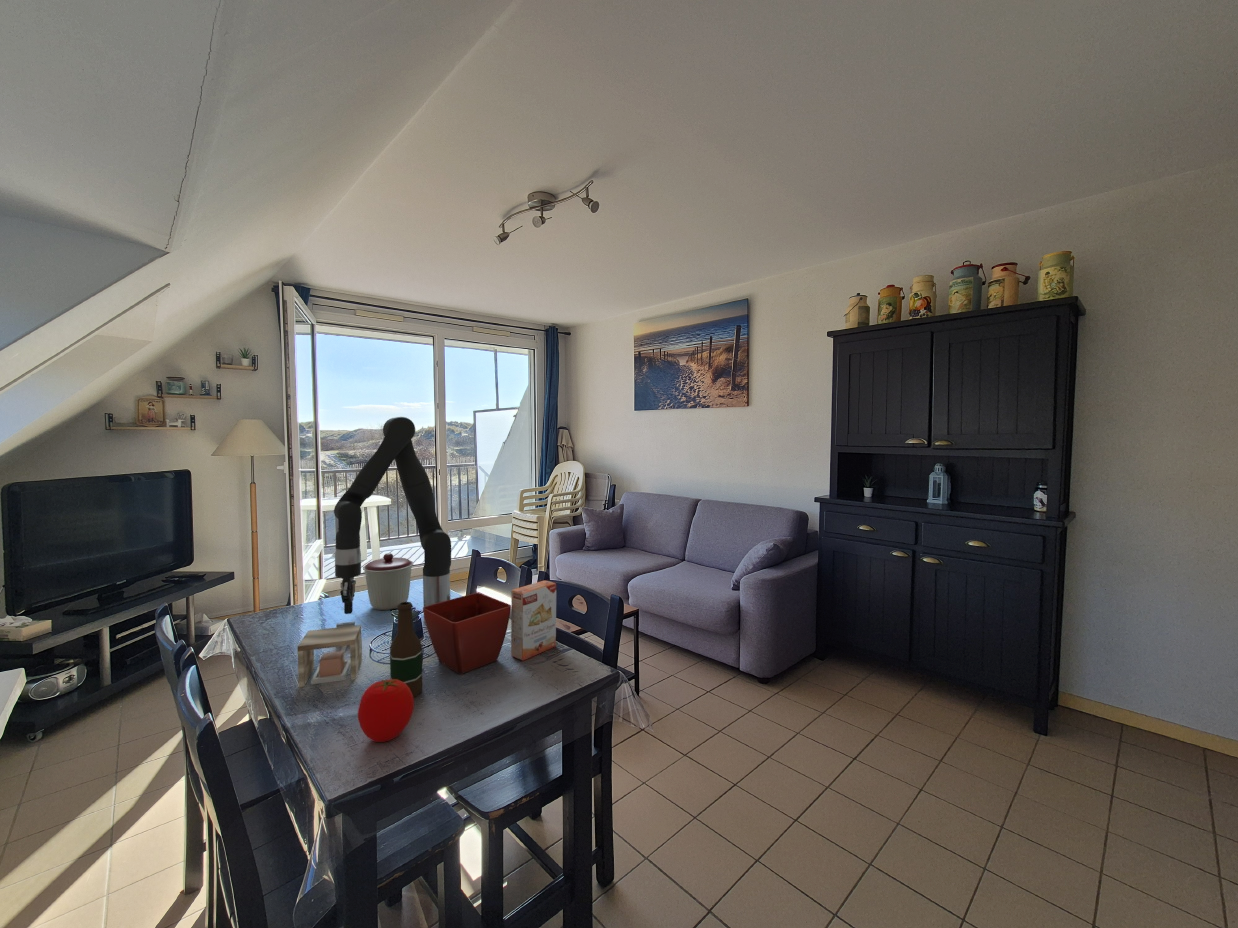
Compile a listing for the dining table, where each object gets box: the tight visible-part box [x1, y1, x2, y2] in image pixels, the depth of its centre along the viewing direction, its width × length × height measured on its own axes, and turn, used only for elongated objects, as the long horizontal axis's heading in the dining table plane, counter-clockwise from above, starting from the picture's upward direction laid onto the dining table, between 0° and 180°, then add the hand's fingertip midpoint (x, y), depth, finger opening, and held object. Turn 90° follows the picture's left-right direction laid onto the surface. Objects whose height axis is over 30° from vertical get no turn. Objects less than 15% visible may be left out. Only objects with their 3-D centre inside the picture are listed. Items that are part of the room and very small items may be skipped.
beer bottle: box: [389, 601, 423, 698], centre depth 130 cm, size 8×8×24 cm
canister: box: [362, 552, 414, 611], centre depth 196 cm, size 18×18×21 cm
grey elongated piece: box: [310, 621, 356, 685], centre depth 145 cm, size 27×8×8 cm, turn 20°
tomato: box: [357, 678, 415, 743], centre depth 111 cm, size 11×11×13 cm
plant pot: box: [422, 592, 511, 675], centre depth 148 cm, size 19×19×17 cm
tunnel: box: [296, 624, 363, 688], centre depth 137 cm, size 11×13×12 cm
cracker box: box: [510, 580, 557, 662], centre depth 155 cm, size 14×6×21 cm, turn 141°
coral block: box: [318, 650, 345, 677], centre depth 137 cm, size 5×5×5 cm
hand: (348, 612), depth 164 cm, fingers closed
